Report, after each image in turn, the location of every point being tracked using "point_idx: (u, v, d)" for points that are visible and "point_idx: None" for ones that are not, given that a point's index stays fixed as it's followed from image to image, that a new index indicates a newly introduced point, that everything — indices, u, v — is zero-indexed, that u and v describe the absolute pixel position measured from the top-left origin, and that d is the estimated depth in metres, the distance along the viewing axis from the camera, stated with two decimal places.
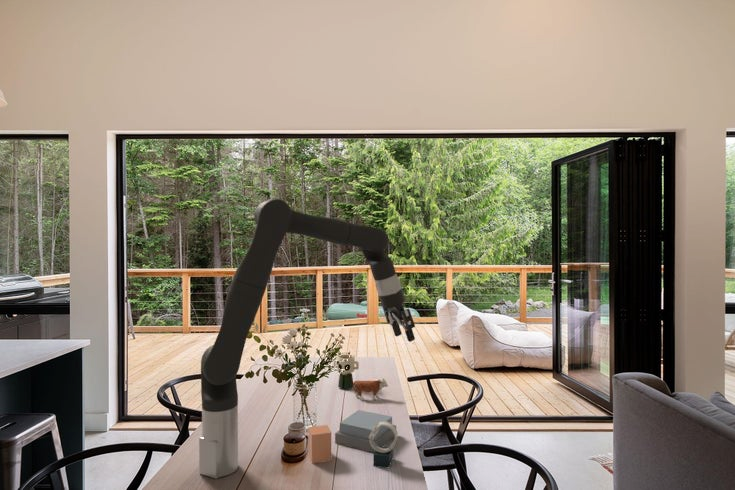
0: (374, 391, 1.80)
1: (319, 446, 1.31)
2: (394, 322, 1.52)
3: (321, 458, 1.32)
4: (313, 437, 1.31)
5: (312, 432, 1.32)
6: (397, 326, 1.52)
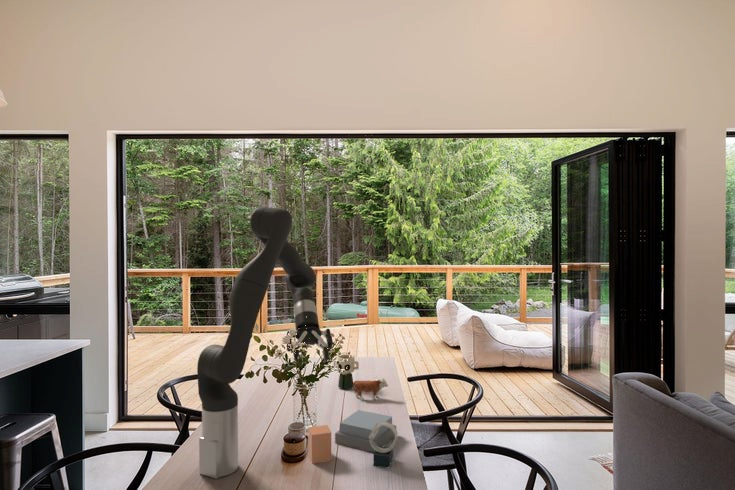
0: (374, 391, 1.80)
1: (319, 446, 1.31)
2: None
3: (321, 458, 1.32)
4: (313, 437, 1.31)
5: (312, 432, 1.32)
6: None
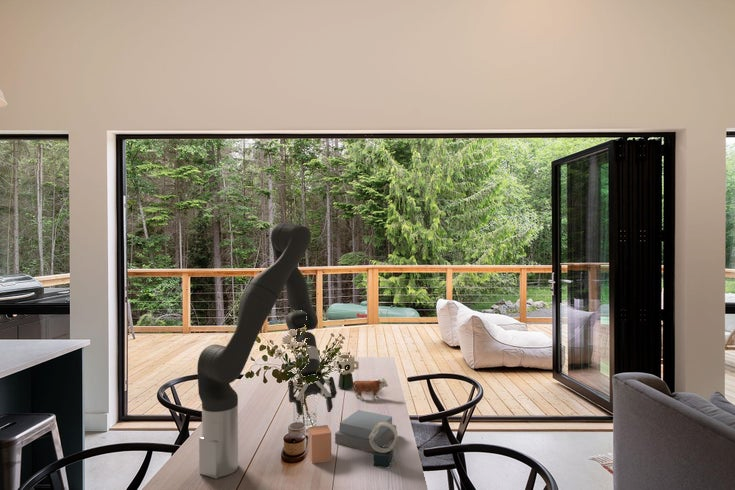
0: (374, 391, 1.80)
1: (319, 446, 1.31)
2: None
3: (321, 458, 1.32)
4: (313, 437, 1.31)
5: (312, 432, 1.32)
6: None
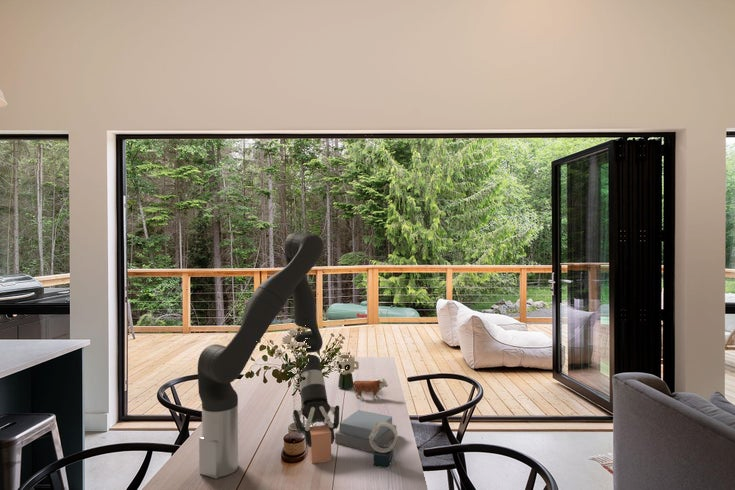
0: (374, 391, 1.80)
1: (319, 446, 1.31)
2: None
3: (321, 458, 1.32)
4: (313, 437, 1.31)
5: (312, 432, 1.32)
6: None
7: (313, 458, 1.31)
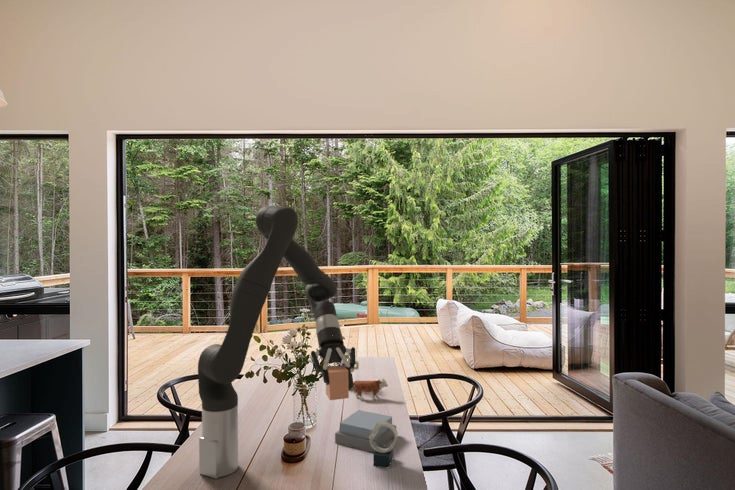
0: (374, 391, 1.80)
1: (337, 383, 1.35)
2: None
3: (339, 395, 1.36)
4: (331, 374, 1.35)
5: (329, 370, 1.36)
6: None
7: (331, 395, 1.35)
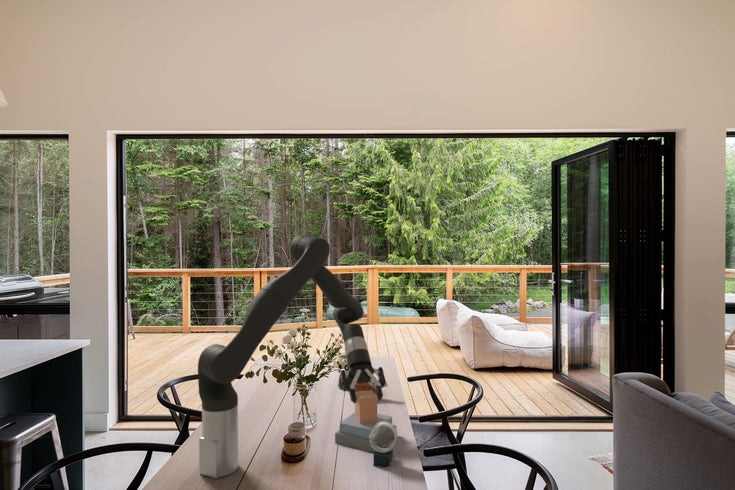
0: (374, 391, 1.80)
1: (366, 408, 1.44)
2: None
3: (368, 419, 1.44)
4: (361, 400, 1.43)
5: (360, 395, 1.45)
6: None
7: (361, 419, 1.43)
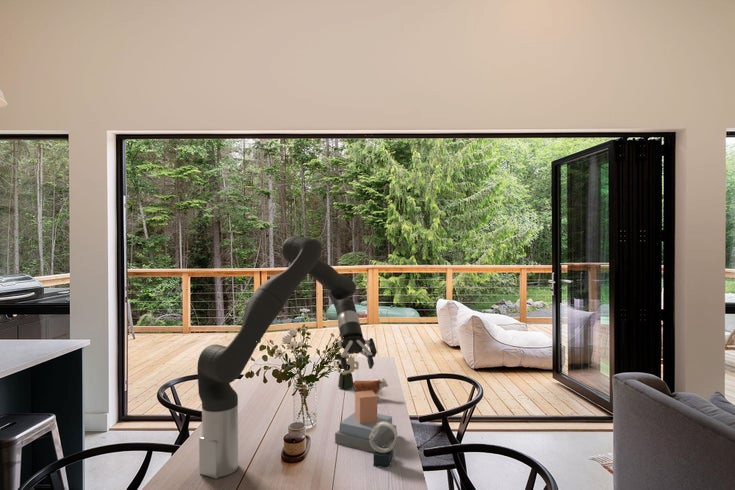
0: (374, 391, 1.80)
1: (366, 408, 1.44)
2: None
3: (368, 419, 1.44)
4: (361, 400, 1.43)
5: (360, 395, 1.45)
6: None
7: (361, 419, 1.43)
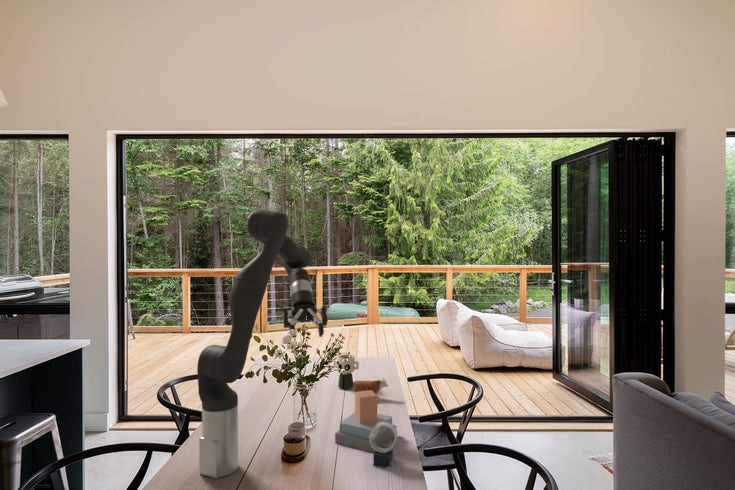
0: (374, 391, 1.80)
1: (366, 408, 1.44)
2: None
3: (368, 419, 1.44)
4: (361, 400, 1.43)
5: (360, 395, 1.45)
6: None
7: (361, 419, 1.43)
